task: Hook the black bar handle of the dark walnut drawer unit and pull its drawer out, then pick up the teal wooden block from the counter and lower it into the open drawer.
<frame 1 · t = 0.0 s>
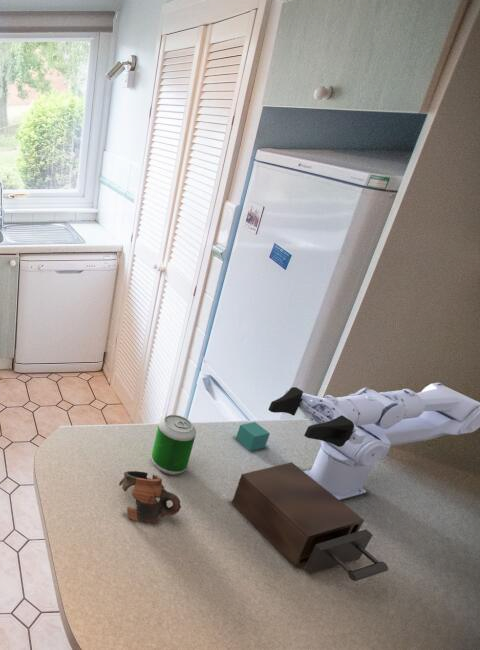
hand: (288, 418, 84), 22 cm above the countertop, tool horizontal, fingers open, 7 cm apart
drawer: (317, 533, 82), point 4 cm above the countertop, slide at 1.0 cm
block: (250, 443, 110), on the countertop
pottery mug: (145, 508, 92), on the countertop
soda can: (167, 465, 103), on the countertop
cabinet: (286, 525, 89), on the countertop
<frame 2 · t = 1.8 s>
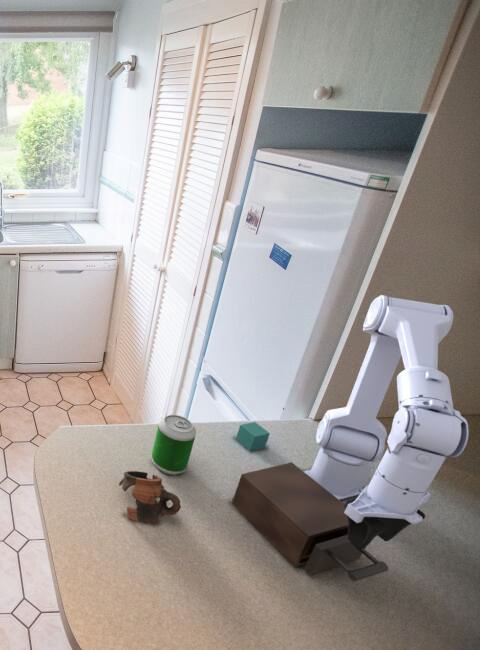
hand: (367, 539, 74), 10 cm above the countertop, tool pointing down, fingers open, 5 cm apart
nothing on the countertop moved.
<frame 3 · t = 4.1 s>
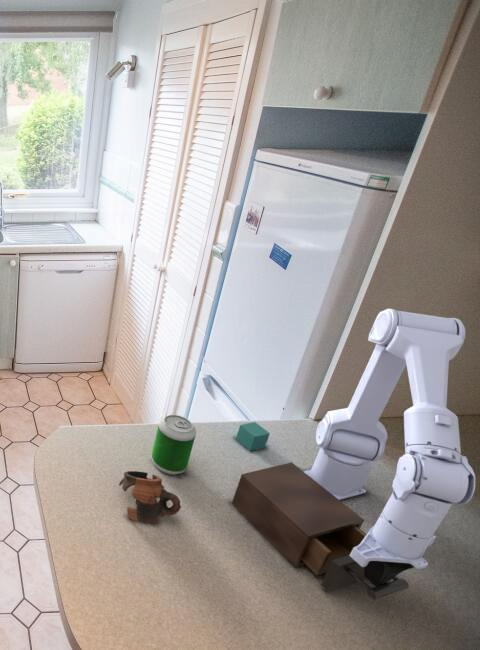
hand: (372, 580, 74), 4 cm above the countertop, tool pointing down, fingers closed, pressing on drawer
drawer: (334, 547, 80), point 4 cm above the countertop, slide at 4.0 cm, touching gripper
everything else where it was.
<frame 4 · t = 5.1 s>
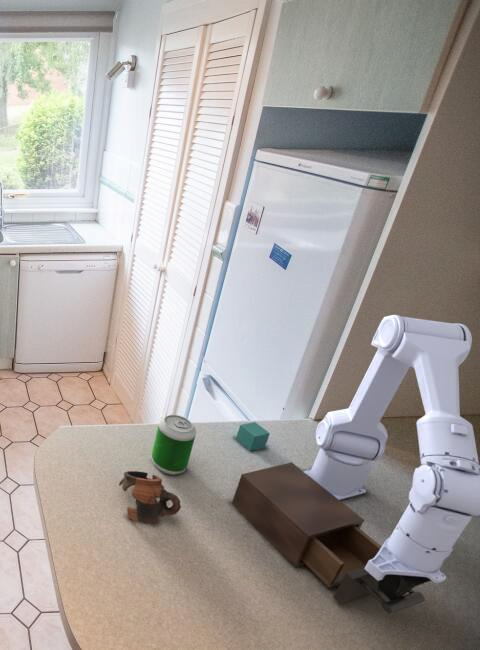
hand: (387, 593, 72), 4 cm above the countertop, tool pointing down, fingers closed
drawer: (346, 559, 78), point 4 cm above the countertop, slide at 6.3 cm
everything else where it was.
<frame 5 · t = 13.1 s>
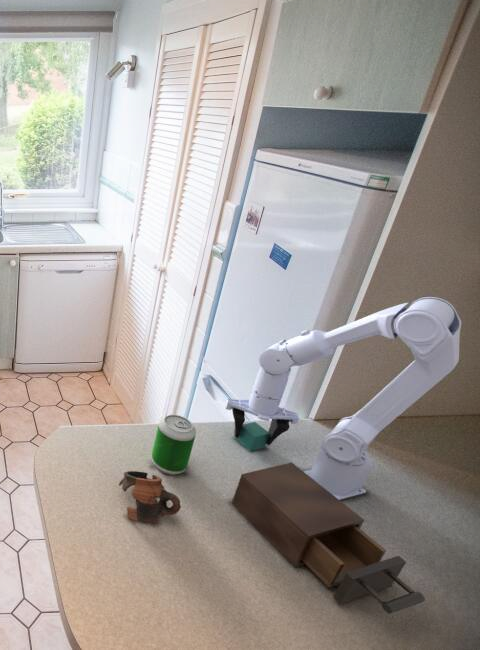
hand: (251, 438, 109), 1 cm above the countertop, tool pointing down, fingers closed on block, 6 cm apart
block: (250, 443, 110), on the countertop, touching gripper
everything else where it was.
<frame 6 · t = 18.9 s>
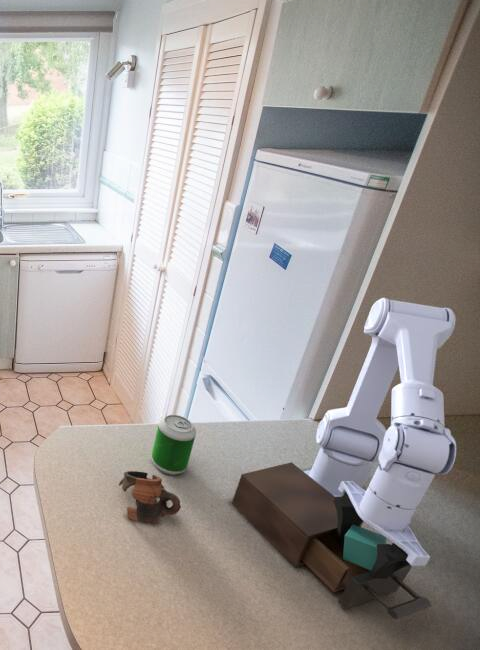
hand: (360, 555, 75), 7 cm above the countertop, tool pointing down
drawer: (351, 563, 77), point 4 cm above the countertop, slide at 7.1 cm, touching block, gripper
block: (363, 559, 75), point 7 cm above the countertop, tilted 16°, touching drawer, gripper
everything else where it was.
when the fingers open (8 cm above the countertop, at t = 22.2 s): block drops 4 cm and tips over, resting on drawer.
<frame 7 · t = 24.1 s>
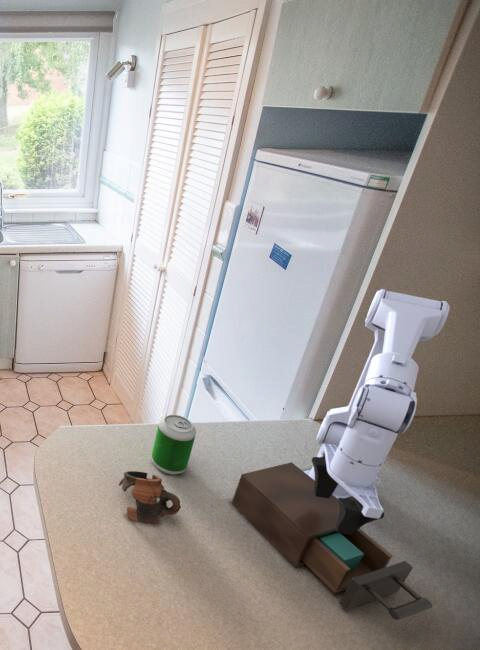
hand: (331, 513, 79), 10 cm above the countertop, tool pointing down, fingers open, 7 cm apart
drawer: (352, 564, 77), point 4 cm above the countertop, slide at 7.2 cm, touching block
block: (350, 565, 76), point 4 cm above the countertop, tilted 90°, touching drawer
everything else where it was.
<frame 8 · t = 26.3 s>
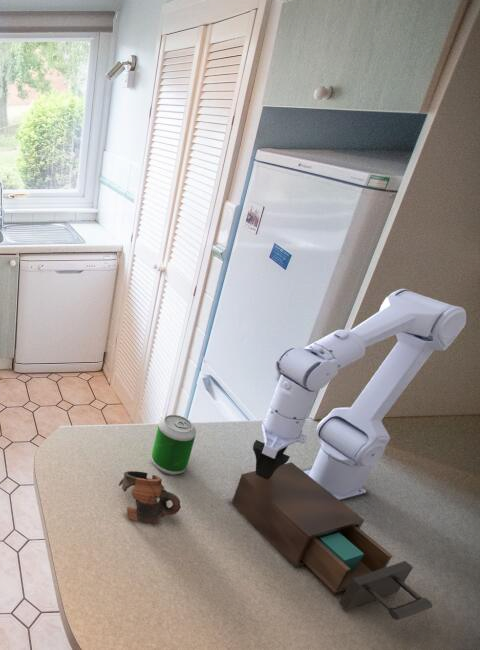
hand: (267, 465, 89), 10 cm above the countertop, tool pointing down, fingers open, 7 cm apart
nothing on the countertop moved.
at the end: drawer slide at 7.2 cm; block inside the target area in the drawer (2.2 cm from its centre), point 4.2 cm above the cabinet's base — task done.
